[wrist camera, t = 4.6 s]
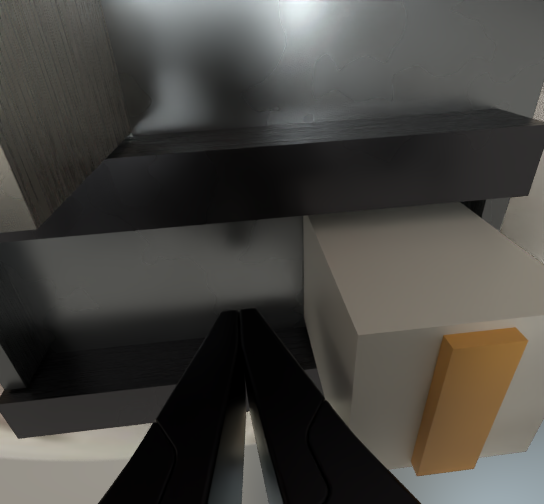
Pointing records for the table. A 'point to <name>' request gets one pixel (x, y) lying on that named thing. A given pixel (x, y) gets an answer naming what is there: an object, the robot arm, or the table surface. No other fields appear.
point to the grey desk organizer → (225, 170)
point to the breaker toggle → (426, 333)
